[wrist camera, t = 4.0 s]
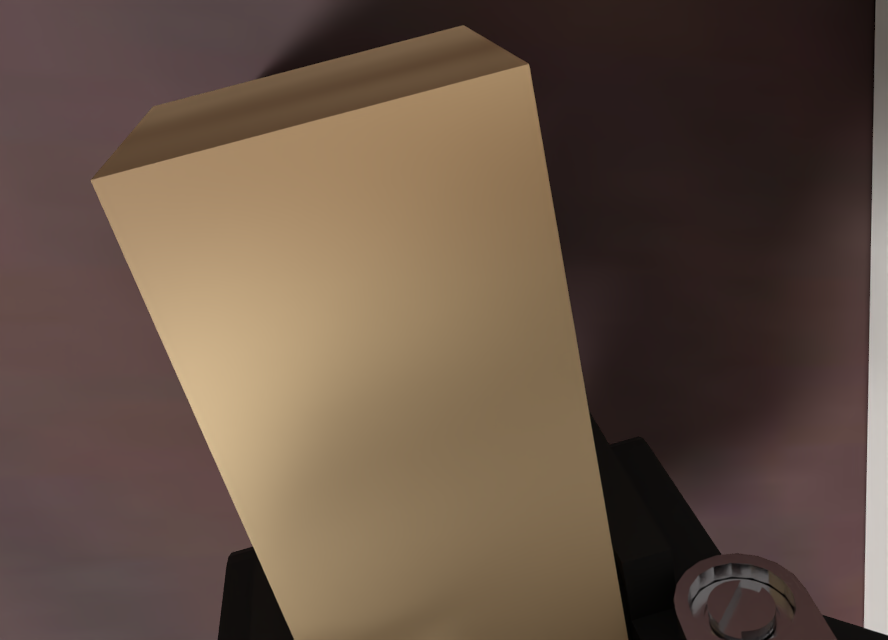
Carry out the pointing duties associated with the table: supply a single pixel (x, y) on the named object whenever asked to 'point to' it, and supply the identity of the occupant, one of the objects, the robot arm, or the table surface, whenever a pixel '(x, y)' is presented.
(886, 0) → the white slotted board
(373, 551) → the tan wooden u-shaped block
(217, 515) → the table surface
